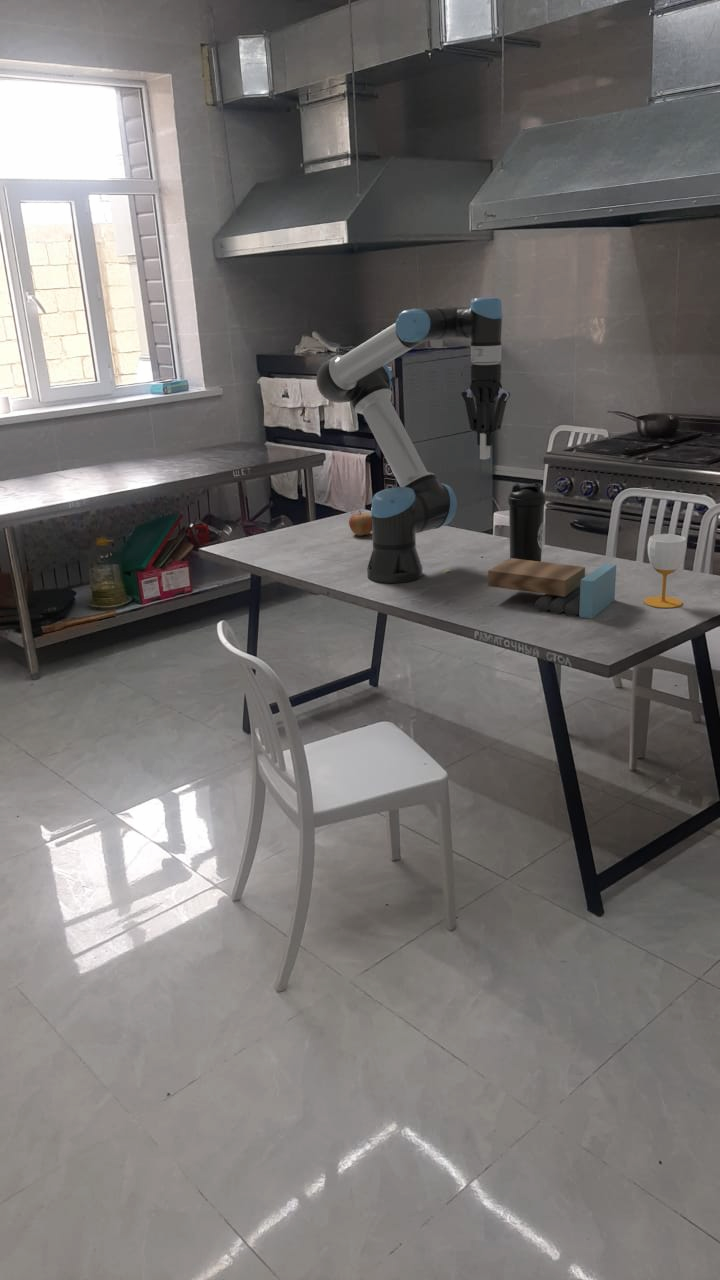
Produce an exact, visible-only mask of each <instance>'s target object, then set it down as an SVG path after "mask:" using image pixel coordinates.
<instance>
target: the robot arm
mask: <svg viewBox="0 0 720 1280" xmlns="http://www.w3.org/2000/svg"><path fill="white" fill-rule="evenodd" d="M502 306H503V305H502V300H501V298H499V297H478V298H477V297H476V298H475V297H474V298H472V299H471V300H470V306H452V305H451V306H450V305H449V306H442V307H429V308H411V309H406V310H403V311H402V312H400V313H398V316H397V319H396V320H395V323H393V324H392V325H390V326H388V327H386V328H385V329H384V330H382V331H380V332H379V333H377V334H376V335H374V336H372V337H370V338H369V339H368V340H366V341H364V342H363V343H361V344H360V345H359V344H358V346H356V347H354V348H353V349H351V350H350V351H348V352H347V353H345V354H343V355H342V354H337V355H335V356H333V357H331V358H330V359H328V360H327V361H325V362H323V364H322V365H321V366H320V367H319V369H318V371H317V374H316V386H317V389H318V391H319V393H320V394H321V395H322V397H323V398H325V399H326V400H328V401H330V402H332V403H337V404H338V403H340V404H341V403H351V406H352V407H353V410H354V412H355V413H357V414H360V415H362V416H363V417H364V419H365V421H366V423H367V425H368V427H369V429H370V430H371V433H372V435H373V436H374V437H373V438H375V440H376V442H377V444H378V446H379V448H380V450H381V453H382V454H383V456H384V458H385V460H386V462H387V464H388V465H389V467H390V470H391V471H392V473H393V475H394V478H395V479H396V481H397V483H398V485H399V486H395V487H390V488H385V489H382V490H380V491H378V492H376V493H374V495H373V496H372V499H371V509H370V513H371V514H370V515H371V516H372V531H371V533H372V551H371V554H370V558H369V562H368V566H367V569H366V570H367V571H366V572H367V578H368V579H369V580H372V581H374V582H378V583H386V584H399V583H407V582H409V583H410V582H412V581H416V580H418V579H420V578H422V576H423V573H424V572H423V565H422V563H421V560H420V556H419V554H418V551H417V545H416V534H418V533H423V532H426V531H427V532H428V531H430V530H435V529H439V528H441V527H443V526H447V525H448V524H450V522H452V520H453V519H454V517H455V515H456V509H457V508H458V505H457V502H458V501H457V497H456V494H455V492H454V489H453V488H452V487H451V486H449V485H448V484H446V483H440V482H439V481H440V480H438V478H437V475H435V473H433V472H429V471H427V469H426V466H425V465H424V463H423V461H422V459H421V457H420V455H419V454H418V452H417V451H418V450H417V449H416V447H415V446H414V444H413V441H412V440H411V437H410V436H409V434H408V431H407V430H406V428H405V427H404V424H403V423H402V420H401V418H400V416H399V415H398V413H397V410H396V409H395V407H394V405H393V403H392V401H391V398H392V397H391V396H392V395H393V394H392V390H391V389H392V387H393V386H392V385H393V381H392V379H393V376H392V372H391V370H390V367H389V366H388V363H390V362H391V361H394V360H395V359H397V358H399V357H400V356H402V355H403V354H405V353H407V352H409V351H411V350H412V349H414V348H416V347H417V346H419V345H421V344H422V343H425V342H426V341H427V342H429V341H437V340H449V339H470V362H471V363H473V364H471V365H470V379H471V381H470V385H469V388H468V389H467V390H465V391H462V392H461V397H462V398H463V400H464V403H465V408H466V412H467V420H468V424H469V427H470V430H471V431H475V432H476V435H477V436H476V437H477V439H476V440H477V443H476V444H477V446H479V460H488V459H491V447H492V446H494V433H495V432H497V431H500V430H501V428H502V422H503V419H504V414H505V411H506V406H507V403H508V400H509V398H510V396H511V393H510V392H509V391H506V390H504V389H503V385H502V382H501V378H502V365H501V363H500V362H502V328H503V327H502V325H503V312H502V311H503V308H502ZM497 397H498V400H497V403H496V399H497ZM474 398H475V400H474ZM495 406H496V409H495Z"/></svg>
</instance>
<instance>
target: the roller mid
mask: <svg viewBox="0 0 720 1280" xmlns="http://www.w3.org/2000/svg"><path fill="white" fill-rule="evenodd" d="M579 594H580V586H579V587H578V588H576V589H575V590H573V591H572V592H571V593H569V594H568V595H566V596H565V597H563V596H559V597H558V598H556V599H555V600H553V601H552V602H551V603H550V606H549V607H550V609H549V611H550V612H551V613H552V614H557V615H560V614H562V613H564V612H565V610H564V607H565V605H566V604H567V603H568V602H570V601H571V600H573V599H574V598H575V597H577V596H578V595H579Z"/></svg>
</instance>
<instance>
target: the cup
mask: <svg viewBox="0 0 720 1280" xmlns="http://www.w3.org/2000/svg"><path fill="white" fill-rule="evenodd" d="M686 552H687V538H686V537H684V536H682V535H679V534H673V533H672V534H670V533H661V534H653V535H650V536H649V538H648V542H647V555H648V561H649V563H650V565H651V568H653V569H654V571H656V572H657V573H659V574H661V575H662V588H661V595H655V596H649V597H646V598H644V600H643V603H644V604H645V605H646V606H647V607H648V606H649V607H652V608H657V609H675V608H679V607H681V606H682V605H683V601H682V600H681V599H678V598H676V597H673V596H666V590H667V589H666V588H667V577H668V575H670V574H673V573H675V572H676V571H678V569H679V568H680V567H681V565H682V564H683V561H684V559H685V556H686Z"/></svg>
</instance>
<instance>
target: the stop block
mask: <svg viewBox="0 0 720 1280" xmlns="http://www.w3.org/2000/svg"><path fill="white" fill-rule="evenodd" d="M616 577H617V564H615V563H607V562H606V563H605V562H604V563H602V564H601V565H599V566H598V567H597V568H596V569H594V570H593V571H591V572H590V573H588V574H587V575H585V577H584V578H583V579H581V584H580V608H579V614H578V617H580V618H586V619H593V618H595V616H597V614H599V613H600V612H602V611H603V610H604V609H605V608H606V607H607V606H609V605H610V604H611V603H612V602H614V601H615V599H616V598H615V597H616V581H617V580H616Z"/></svg>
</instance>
